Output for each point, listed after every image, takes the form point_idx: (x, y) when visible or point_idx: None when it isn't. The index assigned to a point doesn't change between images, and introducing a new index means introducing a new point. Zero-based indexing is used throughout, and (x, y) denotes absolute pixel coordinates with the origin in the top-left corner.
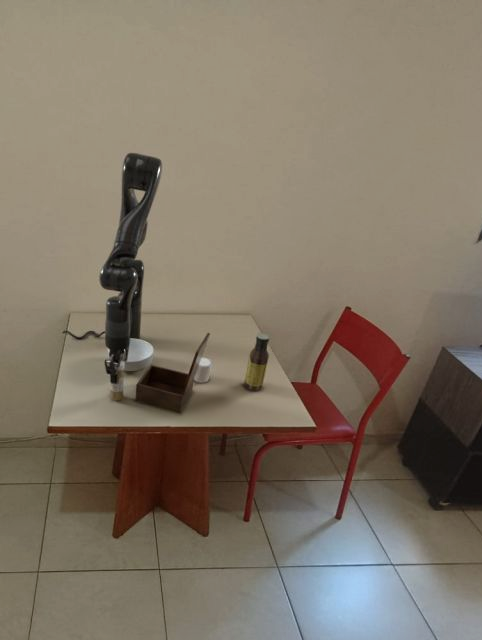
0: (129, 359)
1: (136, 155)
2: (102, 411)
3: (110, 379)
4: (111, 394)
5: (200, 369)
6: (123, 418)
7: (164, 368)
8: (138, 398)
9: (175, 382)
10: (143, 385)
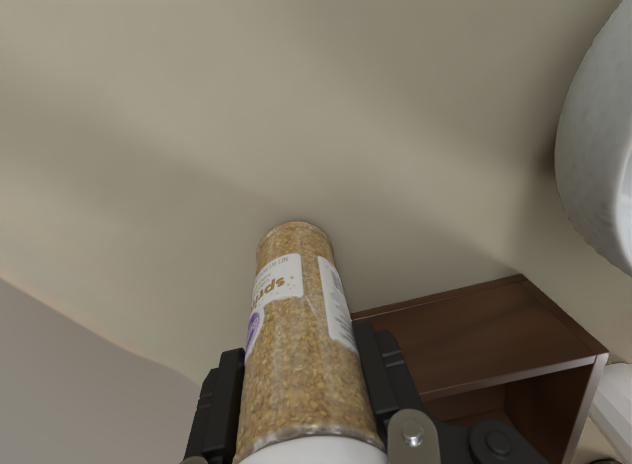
0: None
1: None
2: (154, 264)
3: (219, 373)
4: (257, 263)
5: (627, 460)
6: (198, 349)
7: (583, 409)
8: None
9: (522, 390)
10: None
